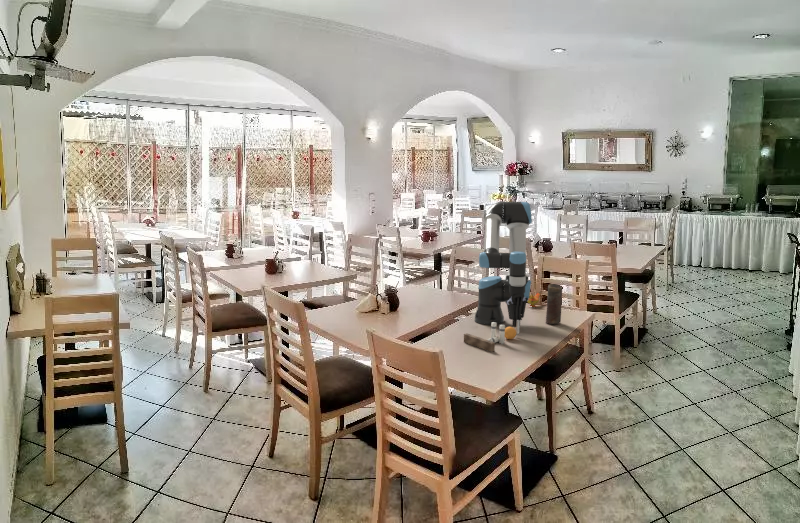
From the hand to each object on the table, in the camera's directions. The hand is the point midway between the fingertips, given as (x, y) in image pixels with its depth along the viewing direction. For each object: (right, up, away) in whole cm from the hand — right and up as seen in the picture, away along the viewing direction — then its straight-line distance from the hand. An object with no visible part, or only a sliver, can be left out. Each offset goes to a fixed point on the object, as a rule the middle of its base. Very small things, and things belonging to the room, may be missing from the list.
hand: (516, 333), depth 283 cm
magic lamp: (+22, +8, +58) cm, 63 cm away
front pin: (-8, -2, -6) cm, 10 cm away
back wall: (-20, -4, -14) cm, 24 cm away
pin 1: (-11, -3, -5) cm, 13 cm away
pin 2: (-8, -4, -9) cm, 13 cm away
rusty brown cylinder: (+24, +2, +22) cm, 33 cm away
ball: (-4, +1, -3) cm, 5 cm away
